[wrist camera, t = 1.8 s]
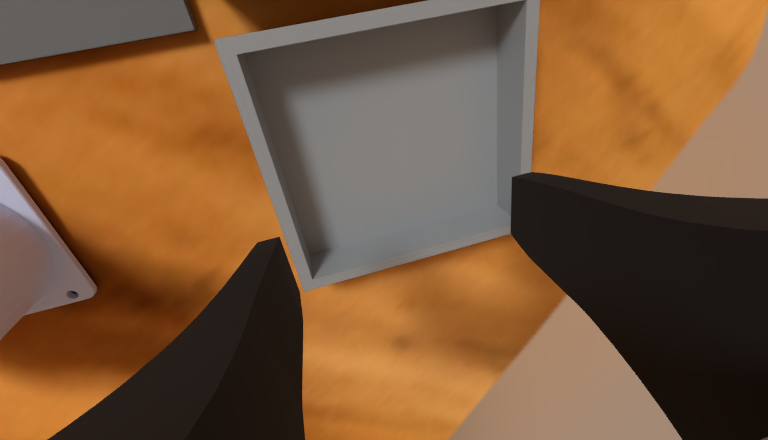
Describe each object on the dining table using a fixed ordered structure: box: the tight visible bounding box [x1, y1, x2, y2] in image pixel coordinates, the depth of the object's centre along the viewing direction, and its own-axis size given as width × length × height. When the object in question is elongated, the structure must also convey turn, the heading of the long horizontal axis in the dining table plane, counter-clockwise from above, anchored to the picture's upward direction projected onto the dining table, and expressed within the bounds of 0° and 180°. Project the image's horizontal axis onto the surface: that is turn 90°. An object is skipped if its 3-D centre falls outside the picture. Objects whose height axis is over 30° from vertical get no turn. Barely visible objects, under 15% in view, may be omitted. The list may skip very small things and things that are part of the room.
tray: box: [214, 0, 540, 292], centre depth 18 cm, size 13×12×3 cm
